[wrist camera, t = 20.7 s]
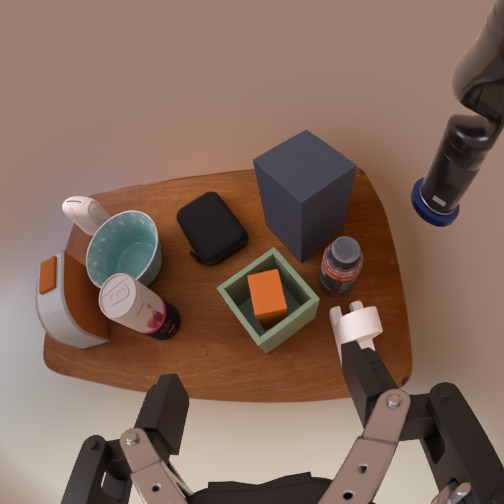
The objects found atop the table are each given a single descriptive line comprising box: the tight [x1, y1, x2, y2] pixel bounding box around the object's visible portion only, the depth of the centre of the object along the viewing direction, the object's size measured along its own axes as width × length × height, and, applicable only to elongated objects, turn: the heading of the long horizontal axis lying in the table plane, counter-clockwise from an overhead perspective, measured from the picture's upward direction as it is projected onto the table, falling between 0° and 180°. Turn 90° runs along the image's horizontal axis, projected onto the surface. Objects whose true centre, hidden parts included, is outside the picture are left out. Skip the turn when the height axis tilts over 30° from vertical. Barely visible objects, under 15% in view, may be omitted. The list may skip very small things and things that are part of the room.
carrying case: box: [177, 192, 248, 265], centre depth 52 cm, size 11×3×15 cm
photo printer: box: [63, 196, 112, 236], centre depth 53 cm, size 10×4×12 cm, turn 76°
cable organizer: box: [329, 301, 383, 366], centre depth 36 cm, size 5×10×10 cm, turn 10°
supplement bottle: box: [320, 236, 363, 297], centre depth 40 cm, size 6×6×11 cm
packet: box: [247, 269, 288, 330], centre depth 39 cm, size 4×5×10 cm
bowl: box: [86, 211, 162, 288], centre depth 48 cm, size 16×16×8 cm
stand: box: [253, 130, 356, 263], centre depth 43 cm, size 10×10×17 cm
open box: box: [217, 247, 320, 354], centre depth 40 cm, size 10×10×10 cm
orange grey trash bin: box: [36, 250, 109, 349], centre depth 43 cm, size 15×8×14 cm, turn 19°
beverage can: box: [99, 273, 180, 340], centre depth 39 cm, size 7×6×15 cm
